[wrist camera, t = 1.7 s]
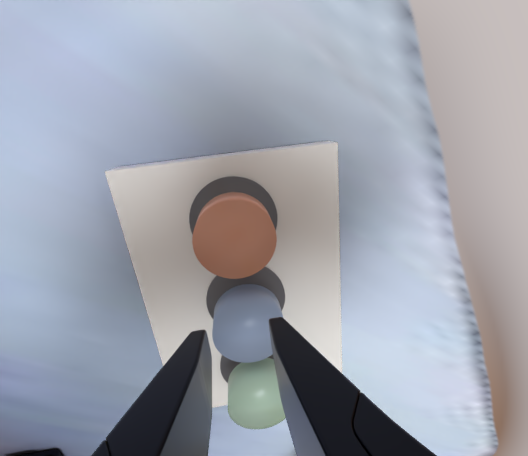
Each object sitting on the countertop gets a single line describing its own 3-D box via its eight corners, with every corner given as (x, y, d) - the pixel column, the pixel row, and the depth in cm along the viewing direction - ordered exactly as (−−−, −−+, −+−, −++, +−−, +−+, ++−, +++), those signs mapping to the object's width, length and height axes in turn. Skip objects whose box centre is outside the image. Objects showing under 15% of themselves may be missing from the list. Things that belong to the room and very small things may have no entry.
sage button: (289, 397, 22) (295, 422, 20) (232, 407, 22) (232, 434, 20) (285, 352, 21) (290, 375, 19) (223, 362, 20) (223, 387, 18)
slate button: (283, 334, 20) (288, 356, 18) (219, 345, 20) (218, 368, 18) (277, 279, 18) (282, 296, 17) (208, 289, 18) (206, 308, 16)
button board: (334, 365, 27) (343, 386, 24) (181, 393, 26) (177, 417, 23) (327, 140, 20) (339, 142, 17) (117, 166, 19) (102, 172, 17)
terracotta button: (274, 256, 18) (280, 272, 16) (203, 267, 18) (200, 284, 16) (267, 187, 16) (272, 195, 14) (189, 197, 16) (184, 207, 14)
